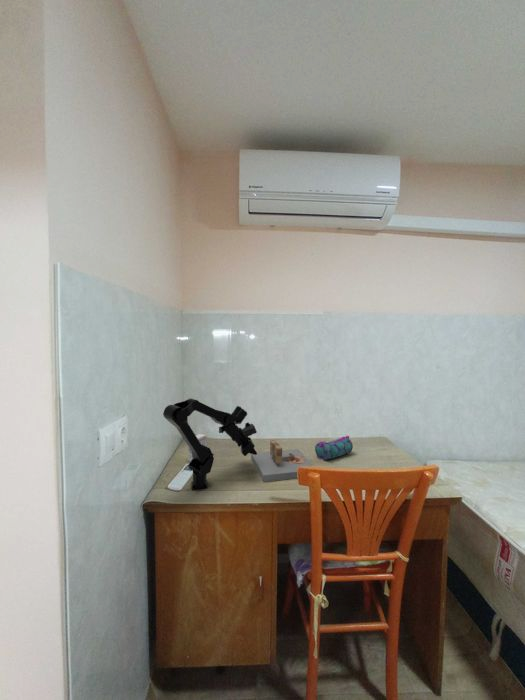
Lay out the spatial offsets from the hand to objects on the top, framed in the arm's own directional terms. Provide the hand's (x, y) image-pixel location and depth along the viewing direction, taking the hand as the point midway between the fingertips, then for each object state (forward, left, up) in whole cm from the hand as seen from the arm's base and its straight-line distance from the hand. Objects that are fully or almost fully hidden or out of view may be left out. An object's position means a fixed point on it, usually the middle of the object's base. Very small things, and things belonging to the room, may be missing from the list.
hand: (256, 454), depth 131 cm
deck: (0, -13, -8) cm, 15 cm away
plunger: (0, -14, -4) cm, 14 cm away
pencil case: (+7, -45, -8) cm, 46 cm away
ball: (0, -19, -6) cm, 20 cm away
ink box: (+17, +27, -8) cm, 33 cm away
